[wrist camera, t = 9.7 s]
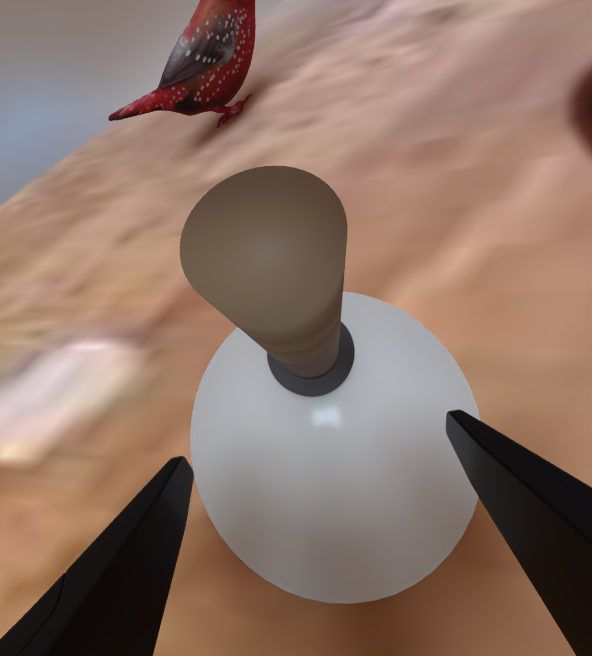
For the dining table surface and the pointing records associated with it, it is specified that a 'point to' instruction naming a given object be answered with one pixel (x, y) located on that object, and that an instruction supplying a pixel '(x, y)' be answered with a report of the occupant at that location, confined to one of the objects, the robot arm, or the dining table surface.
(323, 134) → the dining table surface
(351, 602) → the white smooth round part
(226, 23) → the decorative bird figurine
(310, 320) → the brown tapered knob
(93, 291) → the dining table surface
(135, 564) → the robot arm
